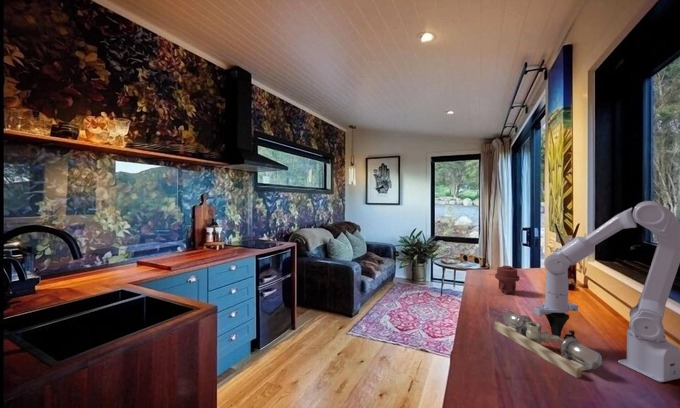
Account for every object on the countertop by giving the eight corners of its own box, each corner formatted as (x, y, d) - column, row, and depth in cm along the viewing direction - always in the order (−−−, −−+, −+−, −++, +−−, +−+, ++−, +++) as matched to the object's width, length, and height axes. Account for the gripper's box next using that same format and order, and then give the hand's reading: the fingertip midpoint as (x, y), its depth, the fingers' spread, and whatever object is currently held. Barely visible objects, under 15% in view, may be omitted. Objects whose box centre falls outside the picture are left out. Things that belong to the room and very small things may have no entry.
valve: (526, 348, 92) (576, 358, 86) (526, 327, 91) (576, 336, 85) (525, 338, 97) (572, 347, 91) (525, 318, 97) (572, 326, 91)
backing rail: (581, 376, 77) (581, 367, 77) (576, 377, 77) (576, 368, 77) (497, 328, 105) (497, 321, 105) (493, 329, 105) (493, 321, 105)
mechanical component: (507, 297, 136) (490, 290, 146) (524, 294, 139) (506, 288, 149) (507, 270, 136) (490, 265, 145) (524, 267, 139) (506, 263, 148)
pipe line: (604, 372, 79) (604, 347, 79) (586, 376, 78) (586, 351, 77) (515, 325, 107) (515, 307, 107) (501, 328, 106) (501, 309, 106)
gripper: (563, 286, 99) (562, 327, 99) (526, 290, 95) (525, 332, 96) (585, 293, 92) (584, 337, 93) (546, 297, 89) (545, 343, 89)
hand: (555, 335), depth 94 cm, fingers closed, pressing on valve
